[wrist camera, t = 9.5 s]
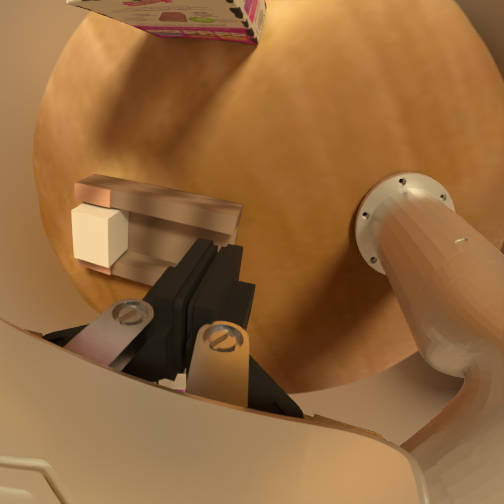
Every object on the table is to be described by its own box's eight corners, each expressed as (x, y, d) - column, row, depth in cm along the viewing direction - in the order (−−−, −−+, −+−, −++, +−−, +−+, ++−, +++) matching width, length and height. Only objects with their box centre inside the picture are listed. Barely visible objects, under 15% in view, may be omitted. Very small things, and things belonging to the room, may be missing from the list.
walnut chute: (243, 204, 34) (236, 218, 30) (226, 285, 39) (219, 305, 35) (94, 174, 35) (74, 183, 31) (94, 249, 40) (78, 264, 36)
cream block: (129, 203, 34) (107, 219, 30) (127, 248, 37) (108, 268, 33) (94, 196, 35) (71, 210, 30) (95, 239, 37) (74, 257, 33)
